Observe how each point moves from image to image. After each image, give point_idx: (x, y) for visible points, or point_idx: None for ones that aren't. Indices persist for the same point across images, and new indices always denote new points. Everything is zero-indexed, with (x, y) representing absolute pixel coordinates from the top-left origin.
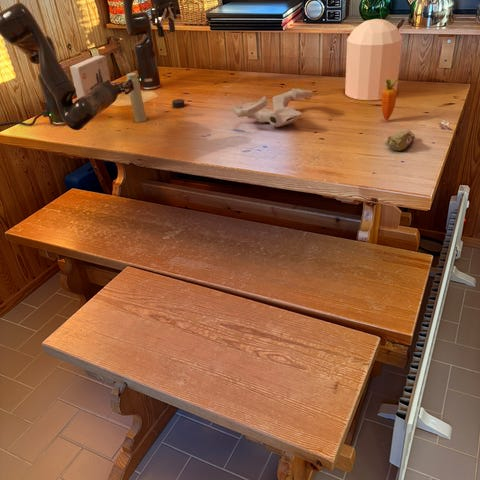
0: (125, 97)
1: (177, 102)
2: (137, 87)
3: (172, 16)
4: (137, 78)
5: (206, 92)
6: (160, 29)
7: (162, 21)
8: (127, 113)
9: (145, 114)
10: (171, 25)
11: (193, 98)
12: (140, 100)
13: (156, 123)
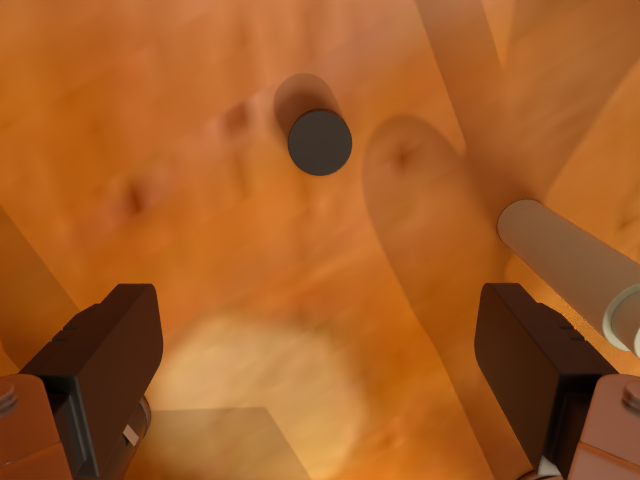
0: (258, 441)
1: (341, 134)
2: (632, 262)
3: (36, 453)
4: (626, 293)
5: (80, 96)
6: (606, 361)
7: (613, 450)
8: (443, 328)
9: (524, 209)
10: (115, 377)
11: (191, 122)
12: (584, 232)
13: (560, 125)
